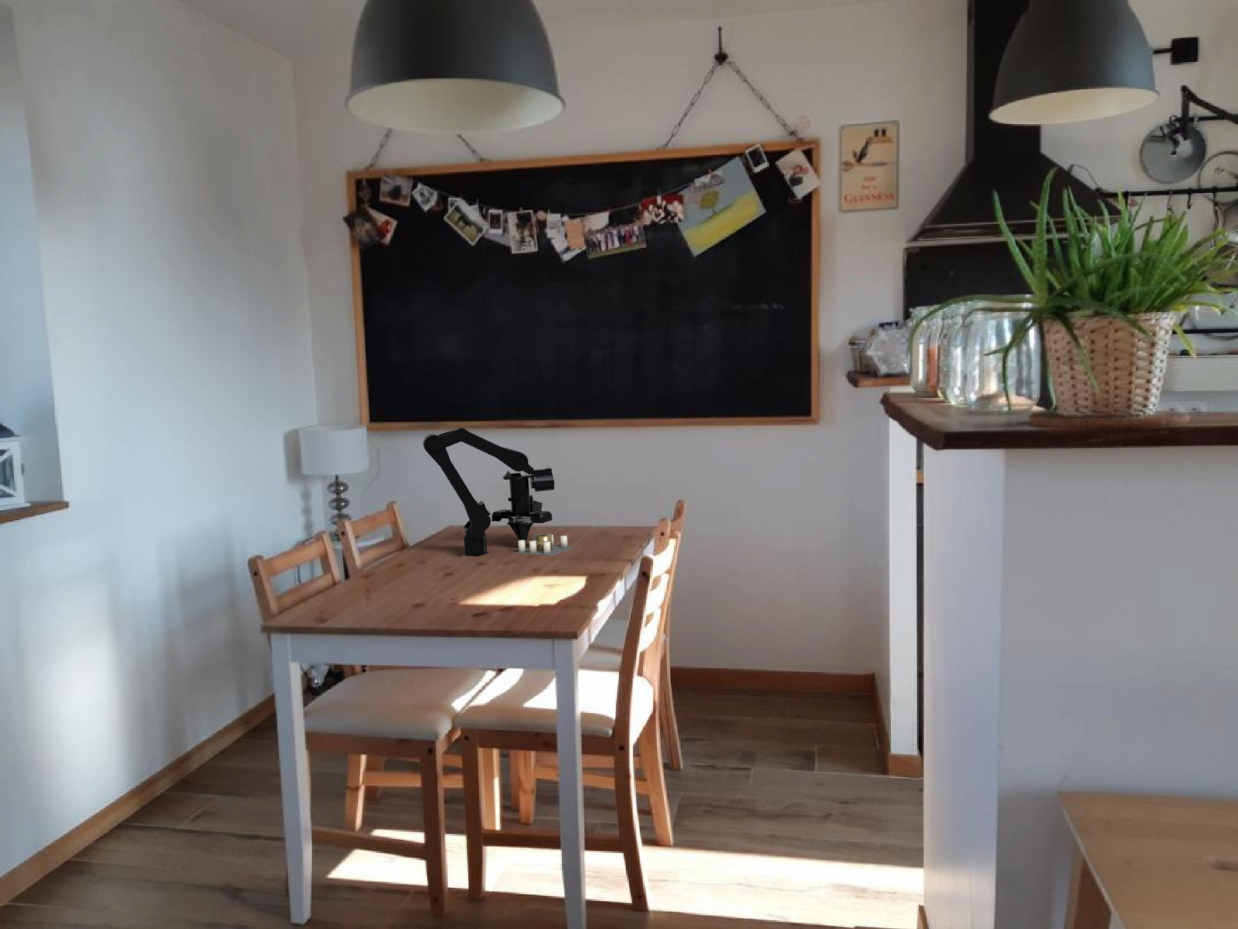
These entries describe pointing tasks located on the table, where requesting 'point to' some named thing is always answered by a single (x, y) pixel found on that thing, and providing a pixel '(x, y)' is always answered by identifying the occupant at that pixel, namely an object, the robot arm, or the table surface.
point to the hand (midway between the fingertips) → (523, 544)
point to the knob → (542, 538)
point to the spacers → (546, 545)
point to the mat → (553, 552)
